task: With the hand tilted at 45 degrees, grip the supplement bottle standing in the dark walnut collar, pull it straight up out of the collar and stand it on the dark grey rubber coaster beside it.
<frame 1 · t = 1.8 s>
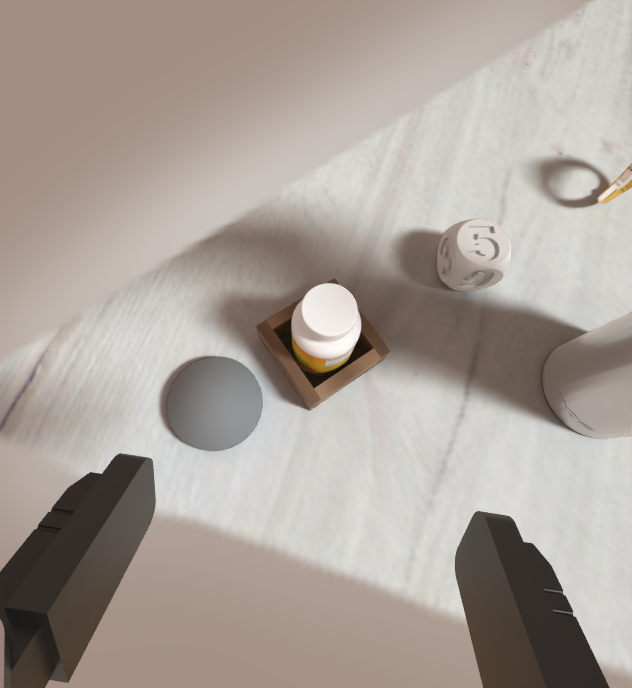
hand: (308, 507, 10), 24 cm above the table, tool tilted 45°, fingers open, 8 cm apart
walnut collar: (321, 348, 37), on the table
ring: (602, 197, 43), on the table
rubber coaster: (216, 403, 35), on the table
supplement bottle: (321, 349, 37), resting in walnut collar
die: (460, 270, 40), on the table
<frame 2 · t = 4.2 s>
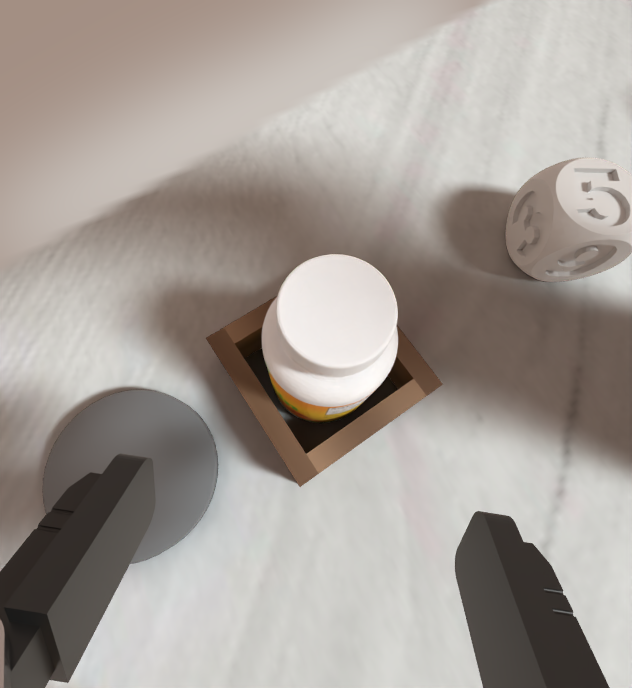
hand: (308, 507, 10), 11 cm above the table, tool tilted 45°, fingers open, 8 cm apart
walnut collar: (320, 375, 22), on the table
rubber coaster: (137, 471, 20), on the table
supplement bottle: (320, 376, 22), resting in walnut collar
die: (542, 248, 25), on the table
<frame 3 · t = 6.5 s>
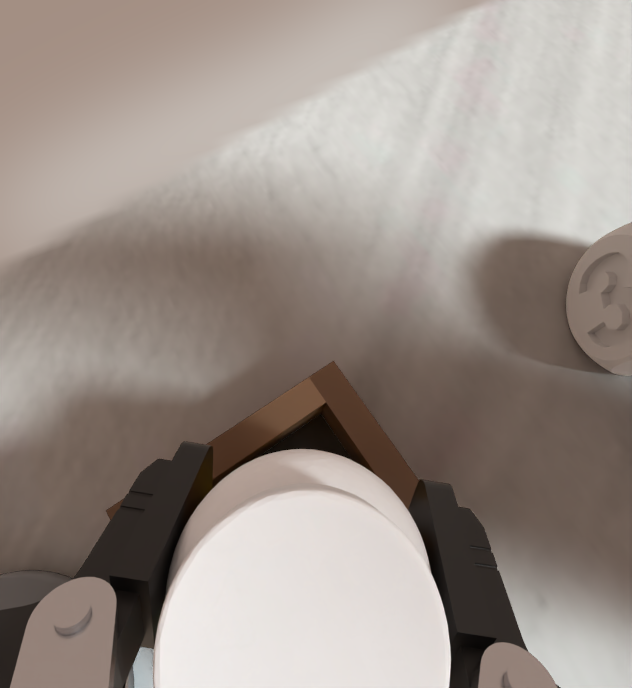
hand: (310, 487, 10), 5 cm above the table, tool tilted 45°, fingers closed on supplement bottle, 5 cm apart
walnut collar: (299, 533, 14), on the table
supplement bottle: (299, 532, 15), resting in walnut collar, touching gripper
die: (616, 323, 18), on the table
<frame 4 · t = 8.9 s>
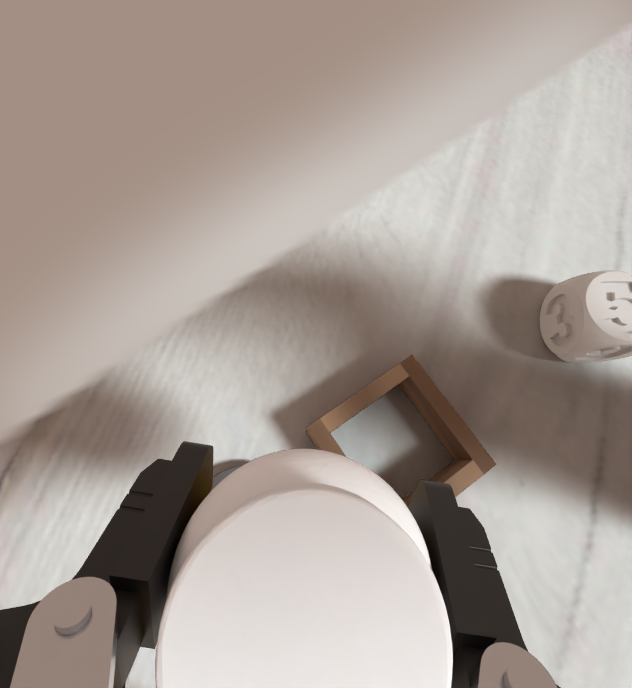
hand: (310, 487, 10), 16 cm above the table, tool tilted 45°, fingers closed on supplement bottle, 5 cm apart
walnut collar: (390, 447, 27), on the table
supplement bottle: (299, 532, 15), point 11 cm above the table, touching gripper
die: (570, 331, 30), on the table
when the fingers open (7 cm above the table, at t = 11.4 s): supplement bottle drops 1 cm, resting on rubber coaster.
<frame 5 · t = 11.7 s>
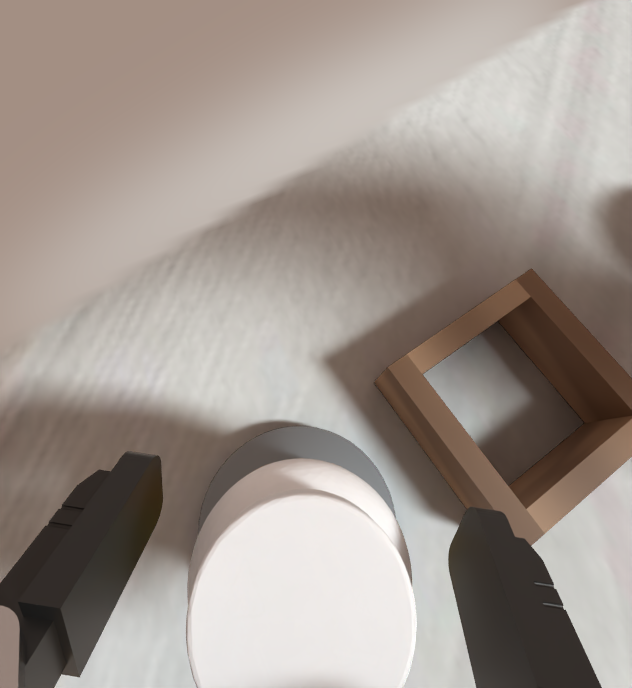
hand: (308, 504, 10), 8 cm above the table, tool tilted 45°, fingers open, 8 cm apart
walnut collar: (493, 405, 19), on the table
rubber coaster: (298, 523, 17), on the table
supplement bottle: (299, 531, 16), point 1 cm above the table, touching rubber coaster
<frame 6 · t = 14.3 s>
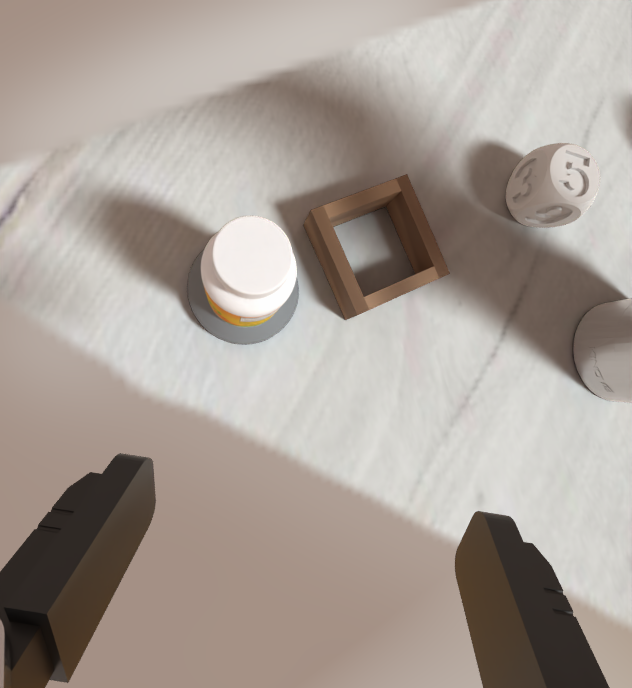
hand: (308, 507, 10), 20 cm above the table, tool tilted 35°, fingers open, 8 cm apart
walnut collar: (368, 254, 32), on the table
rubber coaster: (244, 291, 30), on the table
supplement bottle: (244, 292, 29), point 1 cm above the table, touching rubber coaster
die: (526, 201, 36), on the table
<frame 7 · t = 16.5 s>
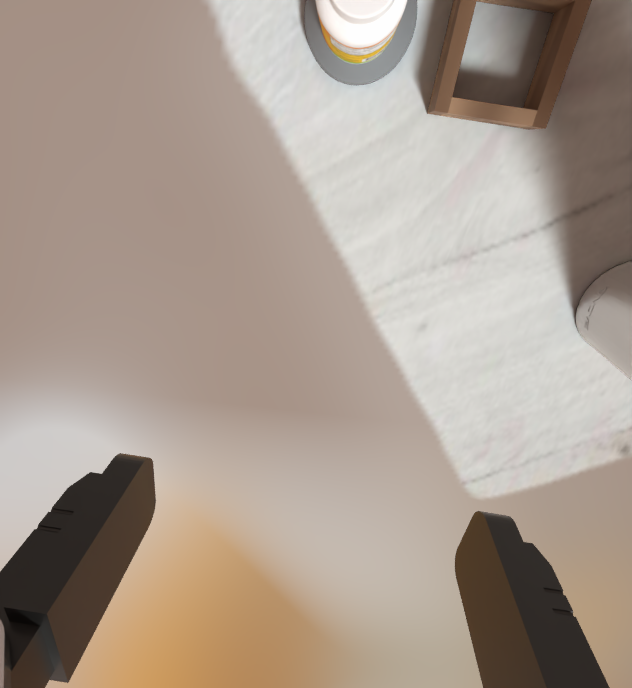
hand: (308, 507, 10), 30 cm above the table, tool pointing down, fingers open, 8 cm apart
walnut collar: (496, 59, 30), on the table
rubber coaster: (359, 20, 29), on the table
supplement bottle: (358, 20, 29), point 1 cm above the table, touching rubber coaster
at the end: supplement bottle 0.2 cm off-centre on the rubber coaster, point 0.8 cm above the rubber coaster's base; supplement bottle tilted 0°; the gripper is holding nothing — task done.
